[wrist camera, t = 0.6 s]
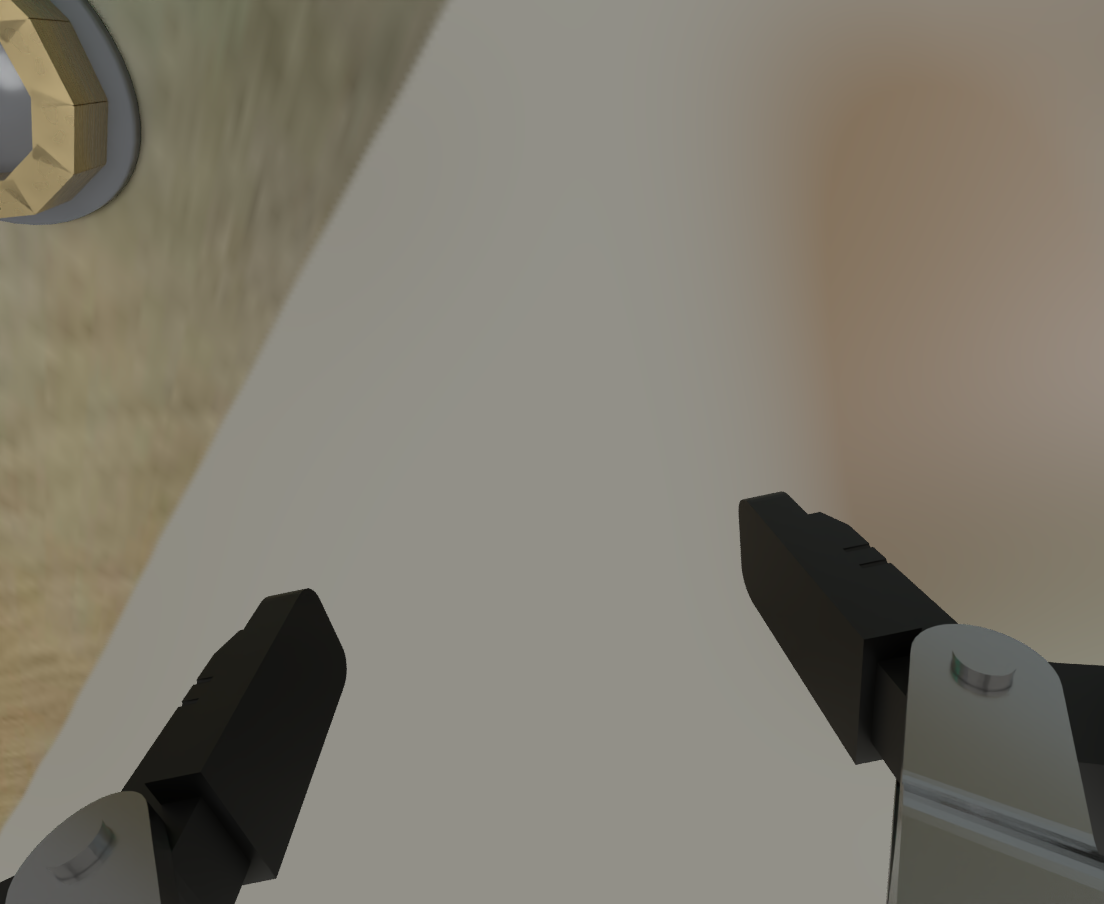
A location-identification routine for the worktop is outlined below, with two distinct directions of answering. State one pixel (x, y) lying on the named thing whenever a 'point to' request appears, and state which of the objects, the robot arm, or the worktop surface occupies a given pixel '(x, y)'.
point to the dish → (8, 121)
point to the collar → (52, 108)
